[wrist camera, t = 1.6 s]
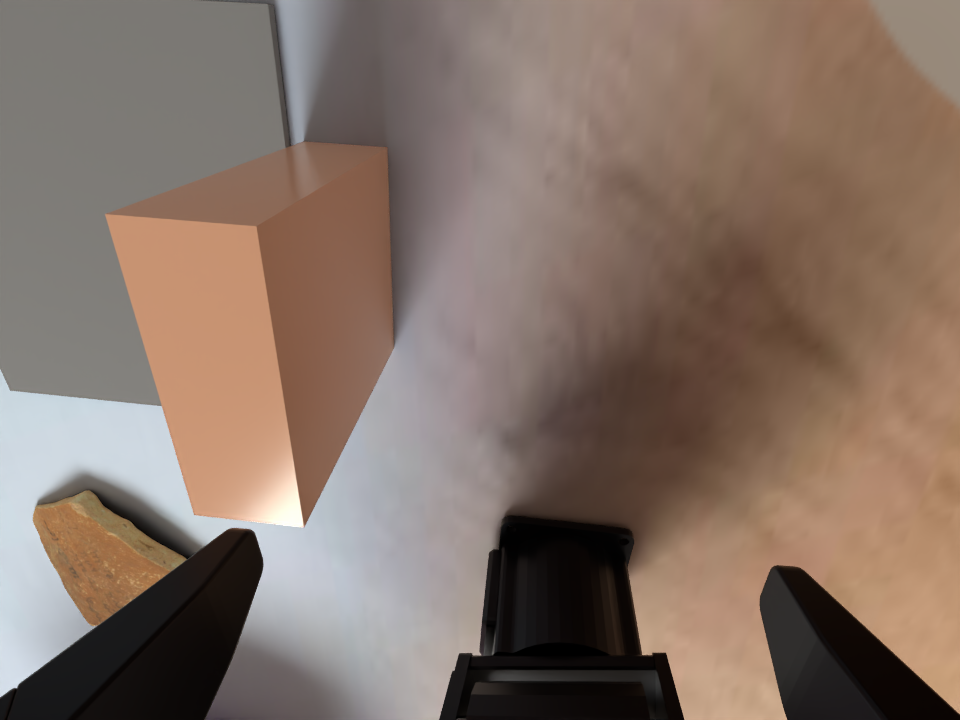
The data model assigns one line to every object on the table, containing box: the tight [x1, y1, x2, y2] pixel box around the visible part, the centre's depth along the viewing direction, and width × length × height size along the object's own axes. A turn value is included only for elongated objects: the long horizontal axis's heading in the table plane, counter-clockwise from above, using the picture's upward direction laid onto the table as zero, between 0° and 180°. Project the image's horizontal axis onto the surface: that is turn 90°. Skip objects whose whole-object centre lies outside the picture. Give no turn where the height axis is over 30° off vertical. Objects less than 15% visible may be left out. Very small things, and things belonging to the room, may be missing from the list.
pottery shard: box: [33, 490, 187, 626], centre depth 31 cm, size 10×9×2 cm
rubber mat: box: [0, 0, 290, 406], centre depth 21 cm, size 15×16×1 cm
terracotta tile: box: [105, 141, 394, 527], centre depth 17 cm, size 3×8×10 cm, turn 177°
